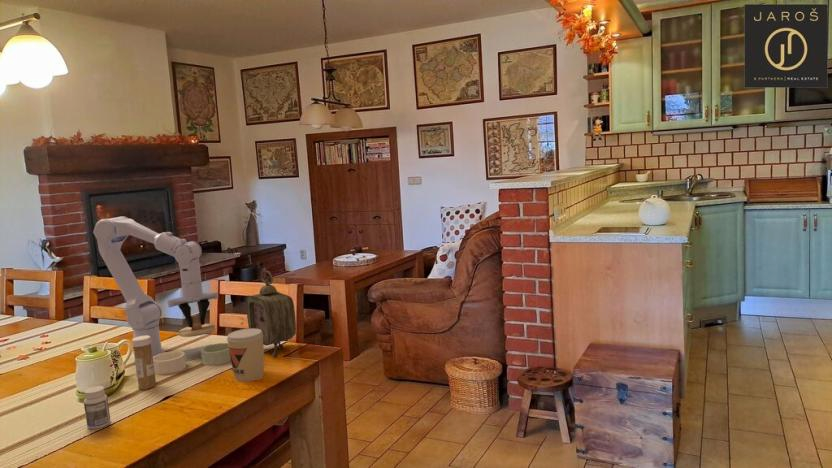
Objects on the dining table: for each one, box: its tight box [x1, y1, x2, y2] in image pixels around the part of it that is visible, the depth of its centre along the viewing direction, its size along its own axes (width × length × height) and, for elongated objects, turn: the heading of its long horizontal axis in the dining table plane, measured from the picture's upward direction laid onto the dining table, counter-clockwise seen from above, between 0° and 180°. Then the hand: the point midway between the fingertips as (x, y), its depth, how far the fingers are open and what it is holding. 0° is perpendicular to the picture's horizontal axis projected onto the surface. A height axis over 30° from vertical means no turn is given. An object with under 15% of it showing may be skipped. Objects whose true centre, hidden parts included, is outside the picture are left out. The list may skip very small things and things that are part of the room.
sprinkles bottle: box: [131, 336, 157, 390], centre depth 158 cm, size 5×5×14 cm
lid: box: [178, 314, 216, 338], centre depth 184 cm, size 10×10×5 cm
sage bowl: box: [201, 342, 231, 366], centre depth 176 cm, size 9×9×4 cm
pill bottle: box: [83, 385, 111, 430], centre depth 135 cm, size 5×5×8 cm
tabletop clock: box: [245, 269, 297, 358], centre depth 181 cm, size 14×9×25 cm, turn 41°
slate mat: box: [181, 343, 212, 362], centre depth 185 cm, size 12×11×1 cm
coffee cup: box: [226, 328, 265, 383], centre depth 160 cm, size 9×9×12 cm
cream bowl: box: [153, 350, 187, 375], centre depth 171 cm, size 9×9×4 cm
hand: (196, 325), depth 184 cm, fingers closed on lid, 3 cm apart
